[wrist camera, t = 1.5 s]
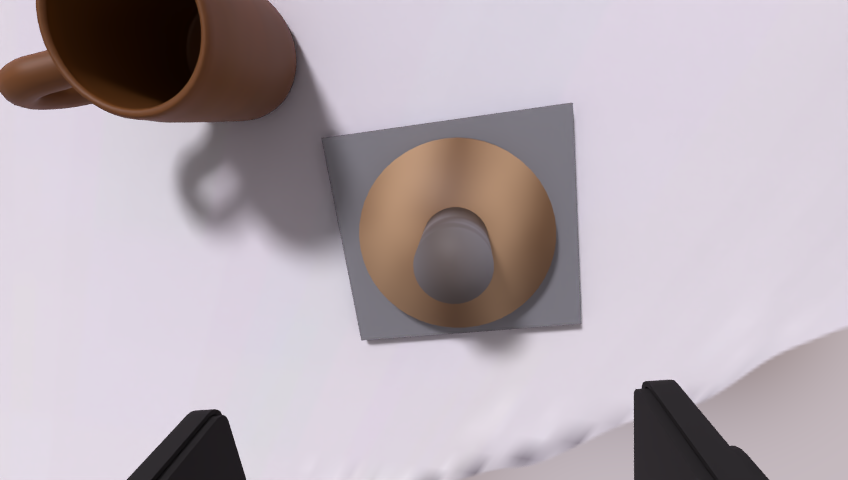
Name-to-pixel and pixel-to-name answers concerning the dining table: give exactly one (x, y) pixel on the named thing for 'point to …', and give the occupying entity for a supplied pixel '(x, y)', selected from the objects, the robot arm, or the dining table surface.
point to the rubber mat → (512, 131)
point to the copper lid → (457, 232)
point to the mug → (157, 59)
